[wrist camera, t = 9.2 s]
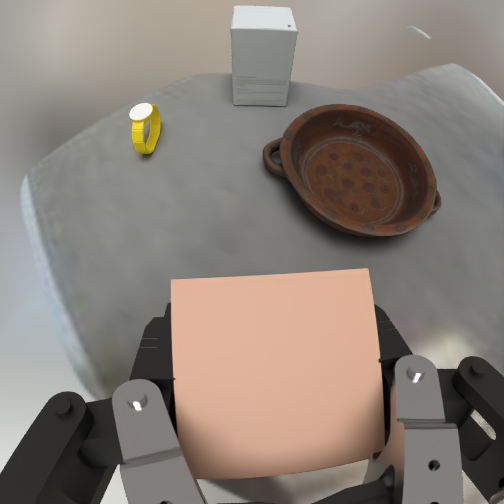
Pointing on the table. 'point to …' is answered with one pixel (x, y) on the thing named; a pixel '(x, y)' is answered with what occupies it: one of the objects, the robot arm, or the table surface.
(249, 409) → the salmon pink block
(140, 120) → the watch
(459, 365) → the robot arm
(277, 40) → the supplement box
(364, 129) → the dish
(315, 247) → the table surface
